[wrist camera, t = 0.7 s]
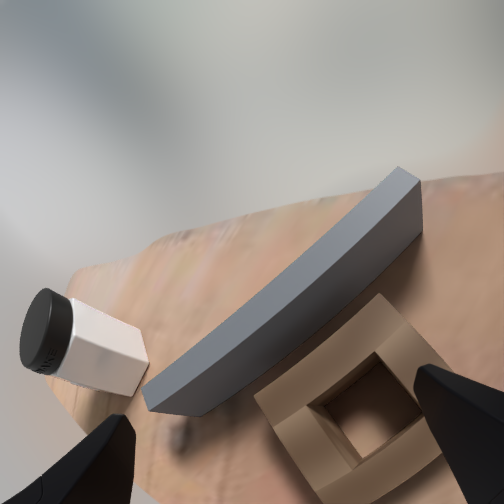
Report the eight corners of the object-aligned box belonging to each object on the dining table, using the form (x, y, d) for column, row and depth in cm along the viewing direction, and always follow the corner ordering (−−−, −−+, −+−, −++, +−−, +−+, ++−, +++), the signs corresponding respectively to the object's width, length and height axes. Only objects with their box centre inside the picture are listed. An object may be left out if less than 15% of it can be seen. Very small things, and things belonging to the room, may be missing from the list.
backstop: (422, 230, 20) (420, 179, 16) (200, 416, 22) (148, 411, 17) (405, 216, 22) (397, 166, 17) (191, 398, 23) (140, 388, 19)
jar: (100, 393, 29) (13, 364, 20) (109, 332, 33) (29, 293, 25) (146, 400, 25) (39, 371, 17) (154, 327, 30) (61, 279, 21)
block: (471, 409, 12) (486, 410, 10) (350, 502, 13) (336, 521, 10) (384, 312, 19) (379, 292, 16) (278, 399, 20) (253, 395, 17)
